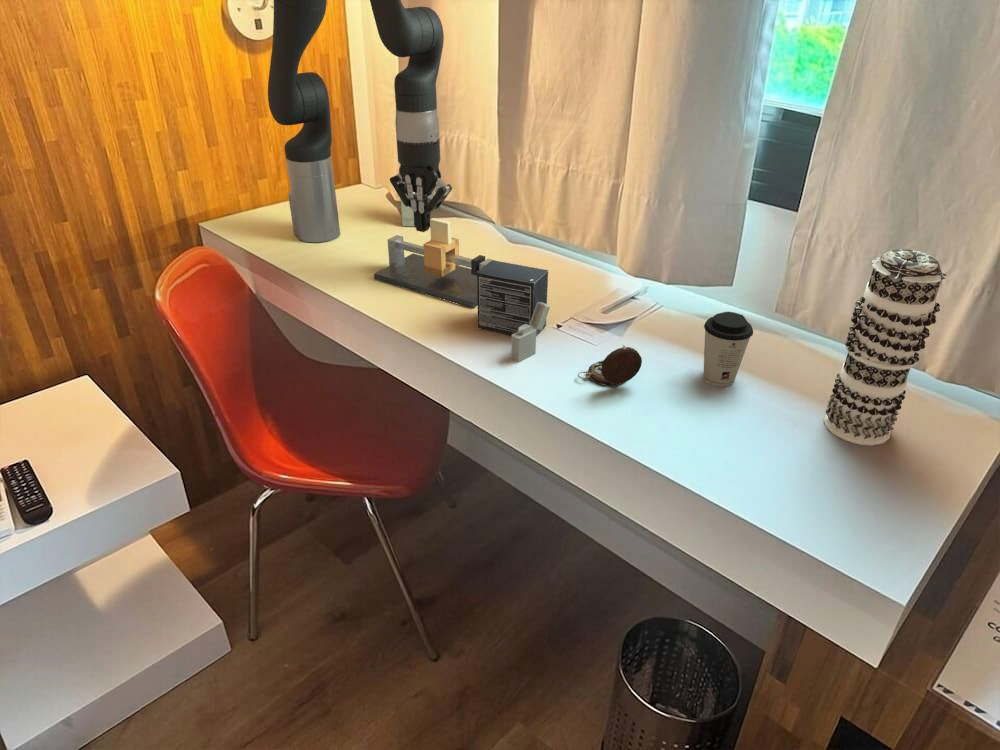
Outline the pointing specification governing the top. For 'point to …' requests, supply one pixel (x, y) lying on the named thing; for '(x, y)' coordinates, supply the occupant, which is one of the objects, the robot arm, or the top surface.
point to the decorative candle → (884, 345)
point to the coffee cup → (725, 347)
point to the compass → (615, 367)
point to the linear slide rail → (413, 276)
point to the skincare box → (407, 215)
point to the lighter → (528, 334)
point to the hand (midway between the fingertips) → (422, 230)
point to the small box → (509, 296)
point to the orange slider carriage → (440, 248)
